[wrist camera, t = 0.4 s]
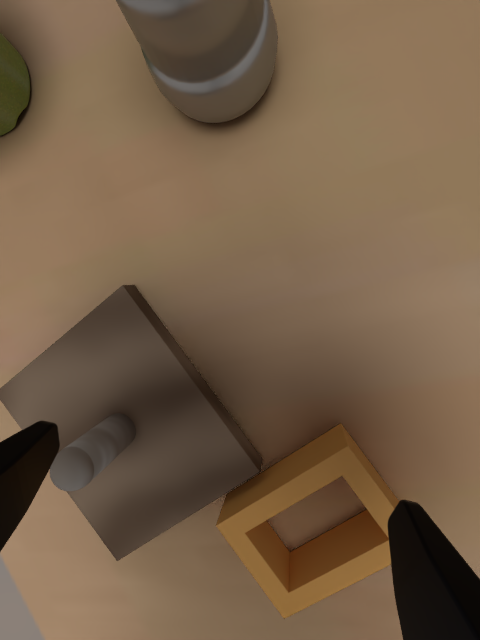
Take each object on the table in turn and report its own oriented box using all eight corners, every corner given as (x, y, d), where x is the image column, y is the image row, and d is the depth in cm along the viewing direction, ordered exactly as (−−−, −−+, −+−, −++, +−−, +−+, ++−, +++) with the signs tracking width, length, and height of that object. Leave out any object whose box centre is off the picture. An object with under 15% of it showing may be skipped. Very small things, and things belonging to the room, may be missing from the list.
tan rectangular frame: (405, 510, 21) (423, 547, 18) (285, 575, 23) (283, 618, 20) (340, 423, 21) (347, 445, 18) (226, 494, 23) (215, 525, 20)
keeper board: (262, 459, 22) (245, 540, 15) (128, 544, 24) (60, 648, 17) (134, 285, 22) (59, 285, 15) (13, 386, 25) (-100, 426, 18)
